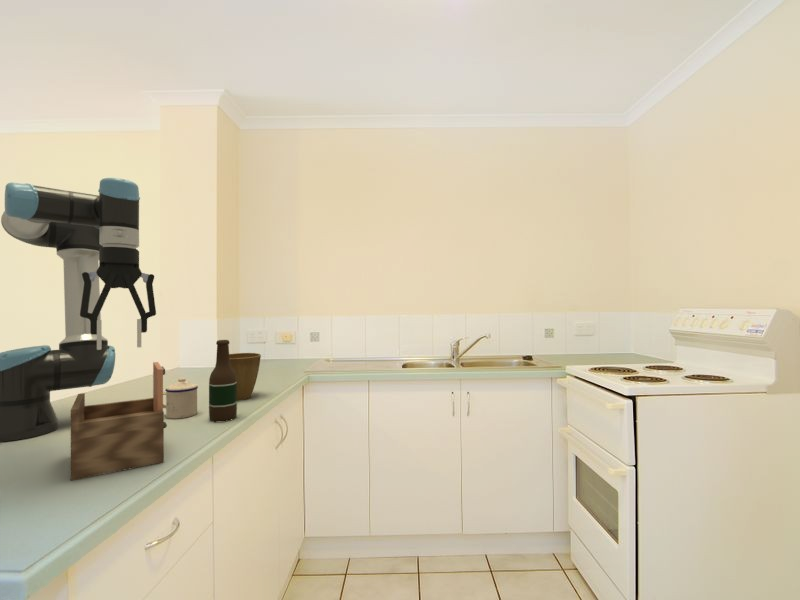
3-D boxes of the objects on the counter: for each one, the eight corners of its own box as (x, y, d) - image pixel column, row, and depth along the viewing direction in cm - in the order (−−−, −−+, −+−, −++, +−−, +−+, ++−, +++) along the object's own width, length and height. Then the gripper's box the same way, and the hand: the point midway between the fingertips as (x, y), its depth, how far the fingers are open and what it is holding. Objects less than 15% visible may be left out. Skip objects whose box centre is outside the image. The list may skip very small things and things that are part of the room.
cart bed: (70, 480, 80) (70, 409, 80) (78, 453, 95) (78, 393, 95) (166, 461, 90) (166, 398, 90) (160, 439, 104) (160, 385, 105)
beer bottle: (209, 423, 118) (209, 341, 118) (208, 417, 125) (208, 339, 125) (238, 420, 122) (237, 340, 122) (235, 414, 129) (235, 338, 129)
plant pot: (216, 396, 154) (216, 354, 154) (257, 392, 161) (257, 352, 161) (219, 404, 141) (219, 358, 141) (264, 399, 148) (264, 356, 148)
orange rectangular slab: (157, 423, 90) (157, 369, 90) (153, 409, 102) (153, 362, 102) (167, 422, 91) (167, 368, 91) (161, 408, 103) (161, 361, 103)
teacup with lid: (202, 411, 133) (202, 375, 133) (190, 418, 124) (190, 380, 124) (165, 411, 132) (165, 376, 132) (149, 419, 123) (149, 381, 123)
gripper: (61, 242, 84) (61, 352, 84) (170, 248, 95) (170, 346, 95) (65, 246, 90) (65, 349, 90) (167, 252, 101) (167, 344, 101)
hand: (119, 347), depth 92 cm, fingers open, 7 cm apart
